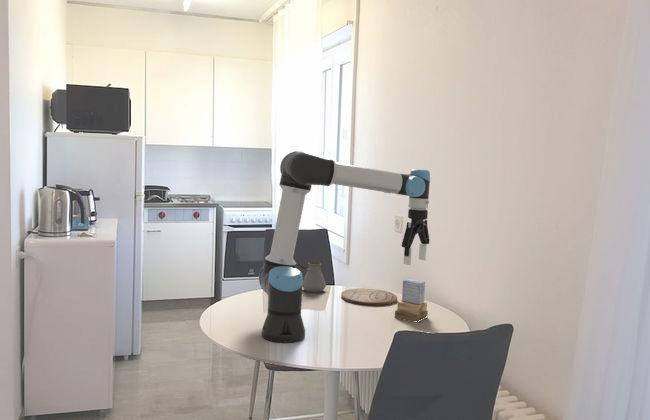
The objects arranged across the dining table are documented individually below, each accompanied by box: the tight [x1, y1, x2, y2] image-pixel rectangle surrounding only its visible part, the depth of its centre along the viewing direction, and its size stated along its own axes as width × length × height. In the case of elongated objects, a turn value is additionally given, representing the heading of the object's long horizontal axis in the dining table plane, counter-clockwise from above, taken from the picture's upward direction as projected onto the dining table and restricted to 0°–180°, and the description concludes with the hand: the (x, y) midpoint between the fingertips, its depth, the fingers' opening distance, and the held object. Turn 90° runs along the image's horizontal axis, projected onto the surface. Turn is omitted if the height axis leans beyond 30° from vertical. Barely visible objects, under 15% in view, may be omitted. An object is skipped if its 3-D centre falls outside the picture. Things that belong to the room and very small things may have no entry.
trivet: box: [340, 287, 398, 307], centre depth 255 cm, size 25×25×2 cm
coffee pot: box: [296, 261, 327, 294], centre depth 260 cm, size 21×12×15 cm, turn 148°
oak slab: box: [396, 299, 428, 315], centre depth 228 cm, size 8×9×4 cm
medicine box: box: [401, 278, 426, 305], centre depth 227 cm, size 8×4×9 cm, turn 56°
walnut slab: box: [394, 309, 428, 323], centre depth 228 cm, size 9×10×4 cm
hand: (414, 262), depth 226 cm, fingers open, 13 cm apart
